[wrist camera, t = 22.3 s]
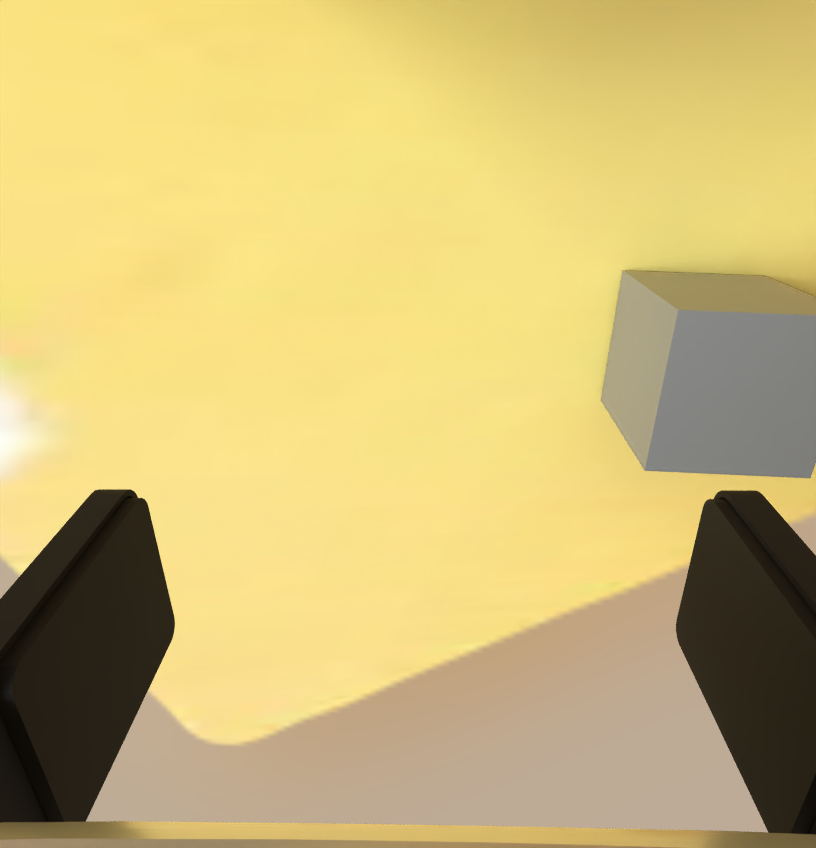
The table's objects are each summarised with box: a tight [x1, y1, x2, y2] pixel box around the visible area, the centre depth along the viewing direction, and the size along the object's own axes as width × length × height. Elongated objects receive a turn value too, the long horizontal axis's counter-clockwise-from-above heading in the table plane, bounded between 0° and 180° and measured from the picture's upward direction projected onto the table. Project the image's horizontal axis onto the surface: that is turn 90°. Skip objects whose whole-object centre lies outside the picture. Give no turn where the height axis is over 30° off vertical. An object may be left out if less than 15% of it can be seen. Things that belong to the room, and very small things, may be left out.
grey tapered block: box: [601, 270, 816, 478], centre depth 32 cm, size 8×8×9 cm
